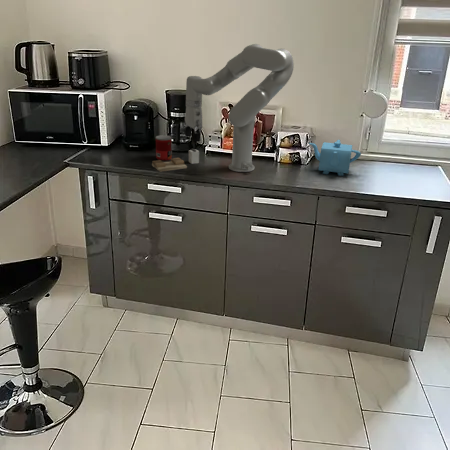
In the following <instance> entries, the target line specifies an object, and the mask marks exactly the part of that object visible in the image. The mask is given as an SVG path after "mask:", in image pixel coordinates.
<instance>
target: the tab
mask: <svg viewBox="0 0 450 450" xmlns="http://www.w3.org/2000/svg"><path fill="white" fill-rule="evenodd" d="M188 163H190V164H199V163H200V151H199V150H198V149H195V148H191V149H190V150H188Z"/></svg>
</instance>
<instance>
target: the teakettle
mask: <svg viewBox="0 0 450 450" xmlns="http://www.w3.org/2000/svg"><path fill="white" fill-rule="evenodd" d="M308 144H309V145H310V146H312V148H313V151H314V156H315V159H317V161H319V163H318V171H320V172H321V171H322V174H323V175H329V173H331V172H332V173H337V176H340V177H344V175H345V174H348V175H349V171H350V166H351V165H350V164H351V163H353V162H354V161H356V160H357V159H360V157H361V156H362V153H361V152H360V150H356V149H353V145H352V144H347V143H344V144H343V143H342V142H341V140H340V139H337V140H336V141H335V142H325V141H324V142H323V143H322V146H321V148H320V152H319V148H318V146H317V144H315V143H314V142H308ZM352 153H354V154H355V156H353V157H352Z"/></svg>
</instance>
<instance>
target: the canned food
mask: <svg viewBox="0 0 450 450" xmlns="http://www.w3.org/2000/svg"><path fill="white" fill-rule="evenodd" d="M172 140H173V139H172V136H170V135H166V134H165V135H162V134H160V135H156V136H155V158H156V159H157V160H161V161H171V159H173V158H172V157H173V155H172V154H173V147H172V146H173V143H172V142H173V141H172Z"/></svg>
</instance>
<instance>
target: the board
mask: <svg viewBox="0 0 450 450" xmlns="http://www.w3.org/2000/svg"><path fill="white" fill-rule="evenodd" d="M151 162H152V163H151V166H152V167H153V168H155V169H156V170H157V171H158V172H160V173H161V172H167V171H168V172H169V171H176V170H182V169H188V165H186V164H185V160H183V159H181V158H180V157H174V158H171V159H170V160H169V161H164V160H158V159H157V160H152V161H151Z"/></svg>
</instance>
